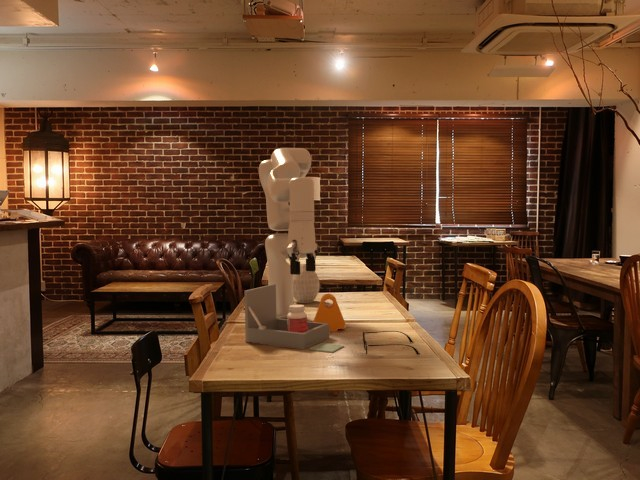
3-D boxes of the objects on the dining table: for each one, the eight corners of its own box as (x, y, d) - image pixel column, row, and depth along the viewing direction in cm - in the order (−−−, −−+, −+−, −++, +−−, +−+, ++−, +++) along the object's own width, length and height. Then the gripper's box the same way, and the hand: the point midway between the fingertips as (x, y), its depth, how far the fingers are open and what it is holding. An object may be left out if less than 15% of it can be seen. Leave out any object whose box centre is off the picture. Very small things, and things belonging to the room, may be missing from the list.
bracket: (344, 326, 187) (343, 292, 186) (345, 331, 180) (344, 295, 179) (313, 327, 187) (312, 292, 186) (313, 331, 180) (312, 296, 179)
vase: (302, 298, 245) (301, 262, 244) (325, 301, 238) (324, 263, 237) (284, 303, 235) (283, 265, 234) (308, 305, 228) (307, 266, 227)
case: (245, 342, 167) (244, 290, 166) (274, 331, 181) (273, 284, 180) (303, 349, 157) (302, 295, 156) (329, 337, 171) (328, 287, 170)
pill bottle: (311, 341, 166) (310, 306, 166) (294, 344, 163) (293, 308, 162) (300, 337, 171) (300, 303, 171) (284, 340, 168) (283, 305, 167)
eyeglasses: (361, 342, 165) (361, 330, 165) (413, 342, 165) (412, 329, 165) (364, 357, 149) (363, 343, 149) (421, 357, 148) (421, 342, 148)
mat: (309, 349, 156) (309, 348, 156) (321, 344, 163) (321, 342, 163) (332, 352, 153) (332, 351, 153) (344, 346, 159) (344, 345, 159)
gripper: (305, 217, 175) (306, 269, 176) (276, 218, 160) (278, 275, 161) (325, 217, 172) (326, 270, 173) (298, 218, 157) (300, 276, 158)
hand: (303, 272), depth 167 cm, fingers open, 9 cm apart
